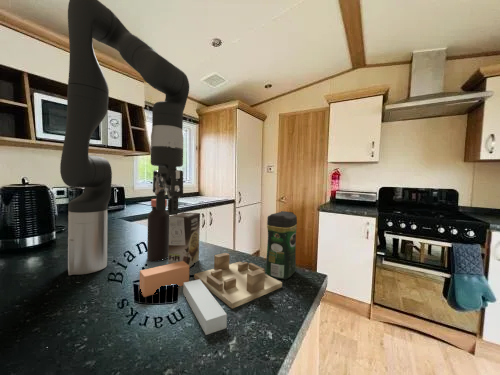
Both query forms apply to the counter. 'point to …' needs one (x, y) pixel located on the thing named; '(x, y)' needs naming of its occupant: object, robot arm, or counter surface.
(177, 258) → the coffee box
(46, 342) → the counter surface
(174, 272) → the tall peach block
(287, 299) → the counter surface
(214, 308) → the light grey bar
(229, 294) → the jig
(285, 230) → the coffee jar
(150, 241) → the bottle
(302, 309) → the counter surface
